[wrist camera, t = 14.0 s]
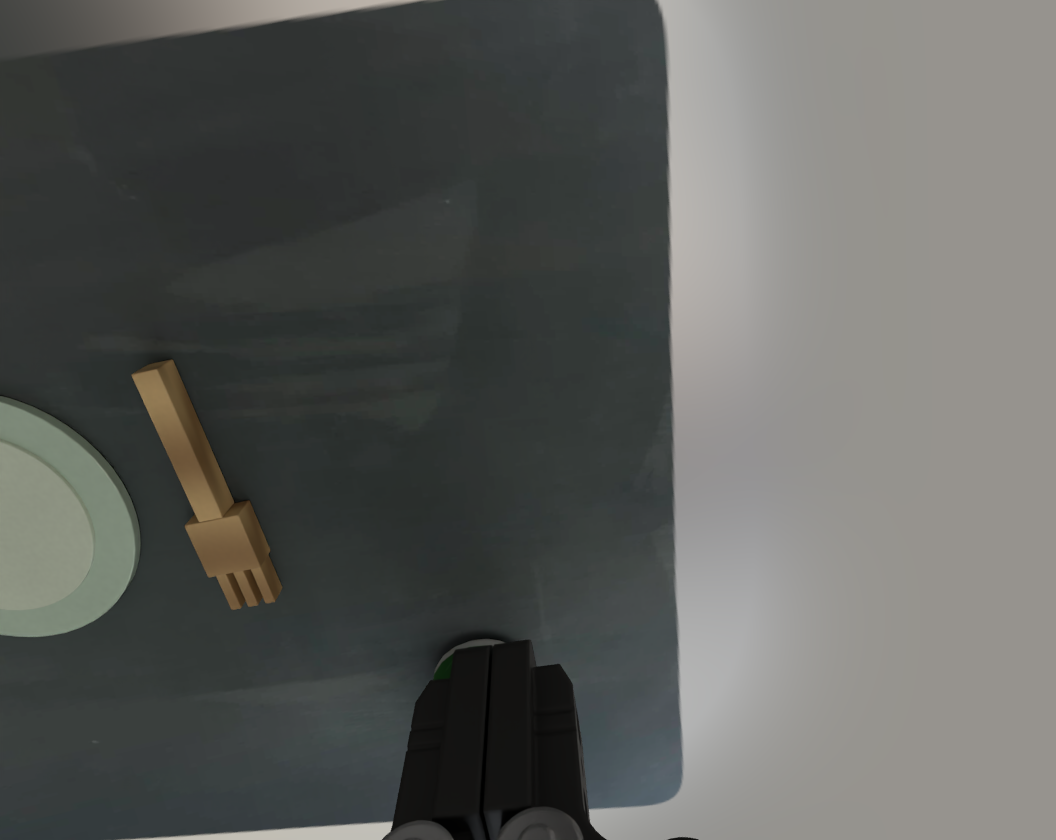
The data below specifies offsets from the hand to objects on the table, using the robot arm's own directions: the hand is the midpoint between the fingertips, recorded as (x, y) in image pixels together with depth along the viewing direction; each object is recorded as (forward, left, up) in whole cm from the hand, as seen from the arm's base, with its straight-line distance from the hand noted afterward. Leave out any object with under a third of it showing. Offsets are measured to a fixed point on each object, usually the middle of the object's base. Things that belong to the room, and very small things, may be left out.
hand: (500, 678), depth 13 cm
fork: (+7, -21, -29) cm, 36 cm away
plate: (+7, -36, -29) cm, 46 cm away
